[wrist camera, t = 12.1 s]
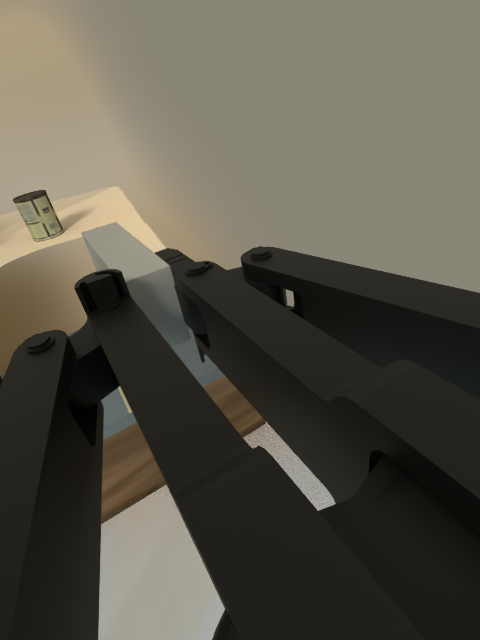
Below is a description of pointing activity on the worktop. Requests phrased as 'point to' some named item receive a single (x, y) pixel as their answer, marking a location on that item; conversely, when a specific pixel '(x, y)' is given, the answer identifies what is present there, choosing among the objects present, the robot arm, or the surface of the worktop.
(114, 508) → the walnut box
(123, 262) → the robot arm
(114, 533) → the worktop surface
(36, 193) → the coffee can
